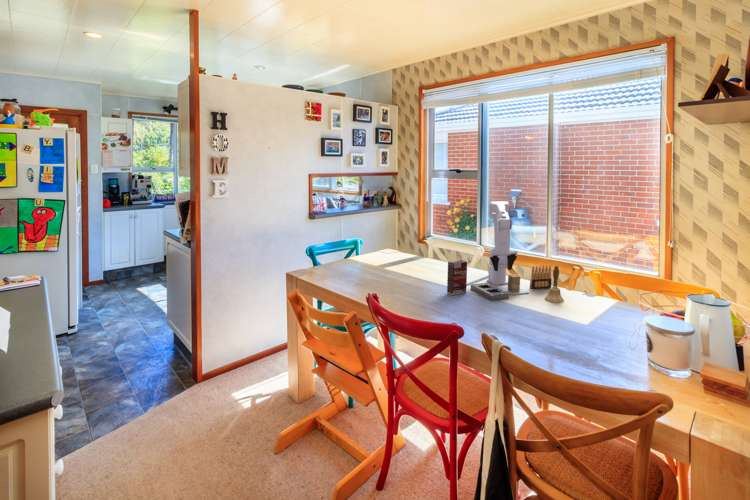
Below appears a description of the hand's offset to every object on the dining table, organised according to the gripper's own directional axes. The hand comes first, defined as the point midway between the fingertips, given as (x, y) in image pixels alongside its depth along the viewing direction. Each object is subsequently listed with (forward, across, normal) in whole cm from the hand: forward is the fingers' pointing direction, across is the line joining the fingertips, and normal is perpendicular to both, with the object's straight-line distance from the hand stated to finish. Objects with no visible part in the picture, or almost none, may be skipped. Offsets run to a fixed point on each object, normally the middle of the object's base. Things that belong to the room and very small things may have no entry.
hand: (502, 270), depth 206 cm
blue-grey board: (+10, +4, -3) cm, 12 cm away
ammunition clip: (+11, +20, -3) cm, 23 cm away
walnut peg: (+10, +4, -3) cm, 11 cm away
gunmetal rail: (+10, -9, -2) cm, 14 cm away
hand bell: (+11, +14, -20) cm, 27 cm away
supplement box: (+11, -23, +4) cm, 25 cm away
